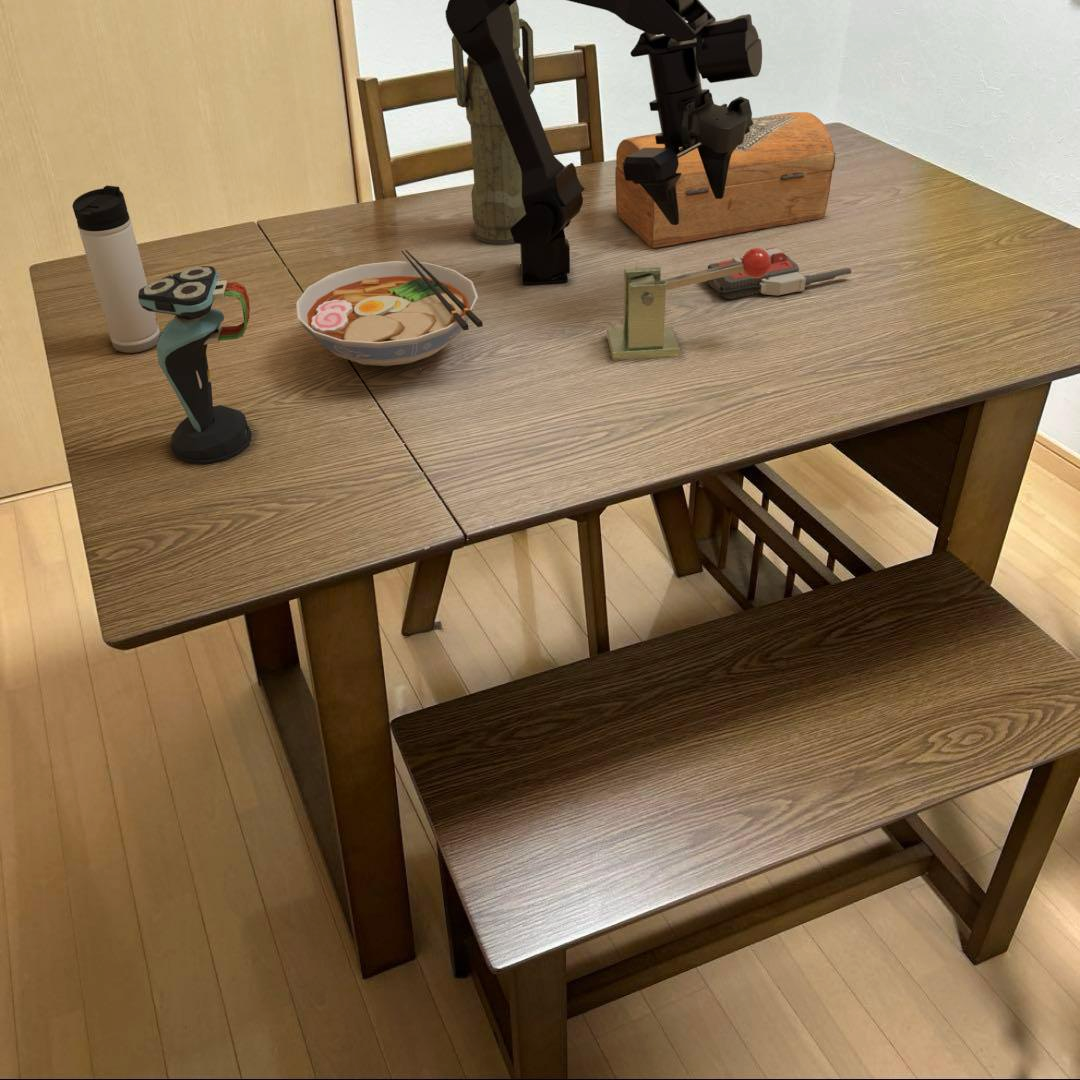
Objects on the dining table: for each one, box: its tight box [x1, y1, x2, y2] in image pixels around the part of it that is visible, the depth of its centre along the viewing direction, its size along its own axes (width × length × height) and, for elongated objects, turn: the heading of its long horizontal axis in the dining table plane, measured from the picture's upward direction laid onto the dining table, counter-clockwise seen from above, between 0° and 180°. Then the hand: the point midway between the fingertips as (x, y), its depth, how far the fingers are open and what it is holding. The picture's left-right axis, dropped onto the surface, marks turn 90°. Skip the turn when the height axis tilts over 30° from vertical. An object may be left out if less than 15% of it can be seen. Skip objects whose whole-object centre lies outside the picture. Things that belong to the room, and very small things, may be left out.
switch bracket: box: [606, 266, 681, 361], centre depth 141 cm, size 8×6×10 cm
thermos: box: [451, 0, 536, 245], centre depth 164 cm, size 9×12×35 cm
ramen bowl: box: [295, 249, 483, 367], centre depth 143 cm, size 25×23×8 cm
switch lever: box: [631, 247, 771, 291], centre depth 139 cm, size 17×4×4 cm, turn 94°
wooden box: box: [614, 111, 836, 248], centre depth 173 cm, size 30×16×14 cm, turn 109°
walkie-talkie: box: [706, 247, 852, 300], centre depth 157 cm, size 9×4×20 cm
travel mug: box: [71, 185, 161, 354], centre depth 143 cm, size 6×7×20 cm
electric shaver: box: [138, 265, 253, 465], centre depth 124 cm, size 9×12×20 cm
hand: (697, 211), depth 146 cm, fingers open, 9 cm apart
